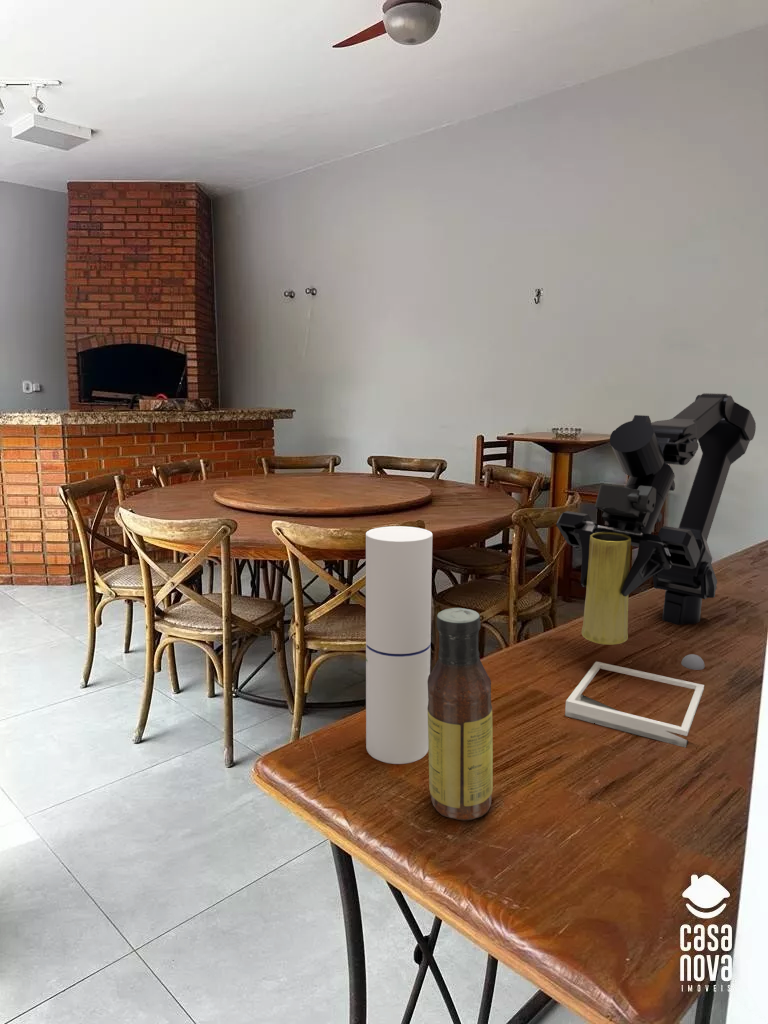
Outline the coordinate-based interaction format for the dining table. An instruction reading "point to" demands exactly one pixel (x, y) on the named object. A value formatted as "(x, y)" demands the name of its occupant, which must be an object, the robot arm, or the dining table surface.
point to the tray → (616, 719)
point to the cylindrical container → (398, 642)
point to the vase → (607, 589)
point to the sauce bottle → (460, 720)
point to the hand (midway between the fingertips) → (602, 590)
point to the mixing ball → (693, 662)
